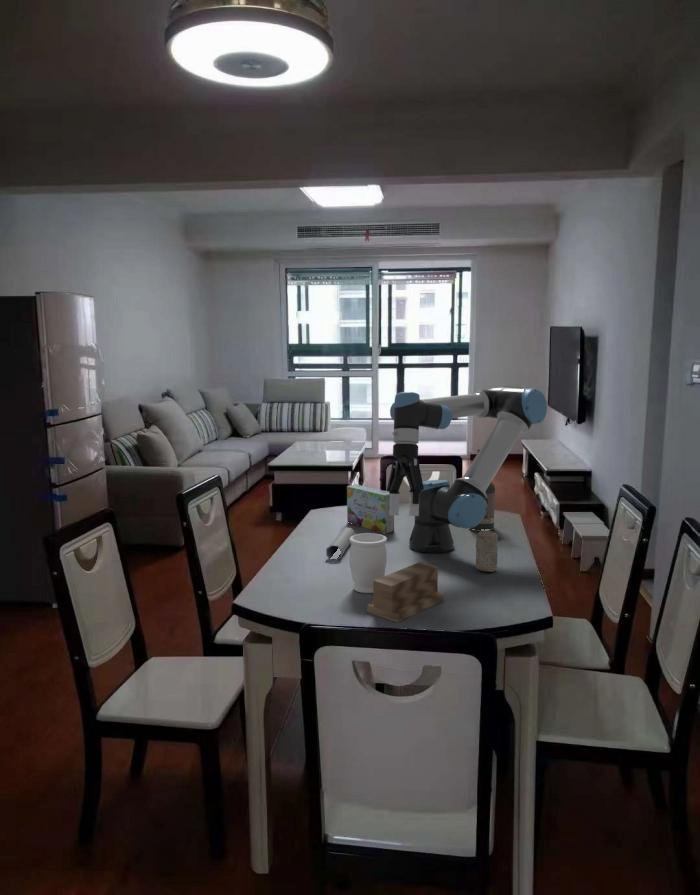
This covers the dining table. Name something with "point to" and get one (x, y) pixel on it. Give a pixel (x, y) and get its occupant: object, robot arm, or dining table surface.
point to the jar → (367, 560)
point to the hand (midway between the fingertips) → (403, 515)
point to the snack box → (369, 508)
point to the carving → (486, 551)
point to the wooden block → (405, 592)
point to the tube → (340, 542)
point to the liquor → (488, 509)
